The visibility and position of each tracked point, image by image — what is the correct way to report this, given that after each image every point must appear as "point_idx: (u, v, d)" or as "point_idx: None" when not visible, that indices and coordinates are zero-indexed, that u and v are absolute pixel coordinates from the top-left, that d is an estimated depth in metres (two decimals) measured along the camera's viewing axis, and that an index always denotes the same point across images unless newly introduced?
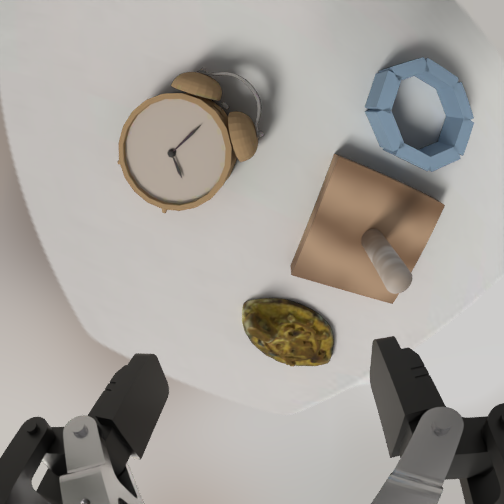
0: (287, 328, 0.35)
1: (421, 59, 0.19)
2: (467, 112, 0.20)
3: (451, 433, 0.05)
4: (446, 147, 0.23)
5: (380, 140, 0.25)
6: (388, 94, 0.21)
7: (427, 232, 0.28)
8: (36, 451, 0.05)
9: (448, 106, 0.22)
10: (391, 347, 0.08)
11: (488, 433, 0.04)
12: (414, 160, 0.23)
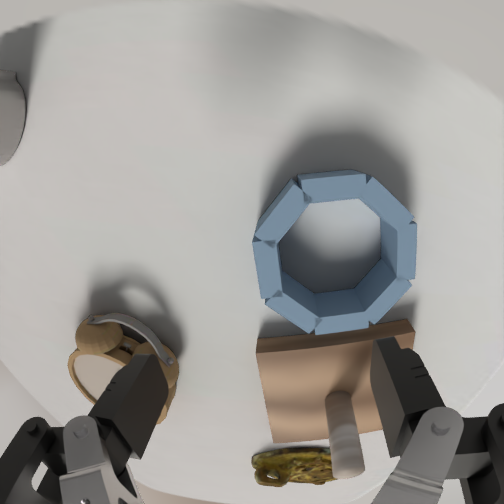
0: (298, 469, 0.29)
1: (292, 190, 0.17)
2: (400, 216, 0.17)
3: (451, 433, 0.05)
4: (387, 280, 0.19)
5: None
6: (268, 274, 0.19)
7: None
8: (36, 451, 0.05)
9: (374, 211, 0.19)
10: (391, 347, 0.08)
11: (488, 433, 0.04)
12: (343, 327, 0.19)
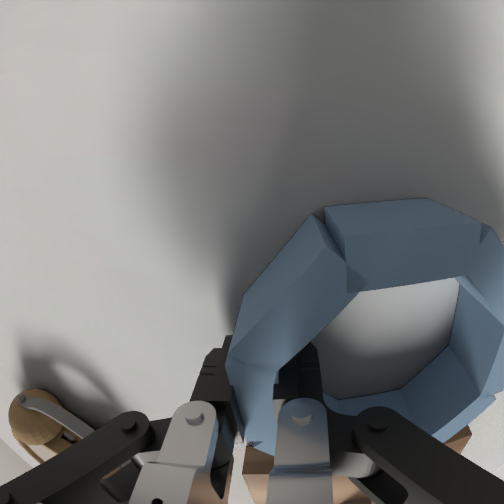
0: None
1: (320, 262, 0.07)
2: None
3: (308, 424, 0.06)
4: (462, 395, 0.08)
5: None
6: (259, 414, 0.08)
7: None
8: (121, 453, 0.06)
9: (461, 280, 0.09)
10: None
11: (361, 443, 0.05)
12: None
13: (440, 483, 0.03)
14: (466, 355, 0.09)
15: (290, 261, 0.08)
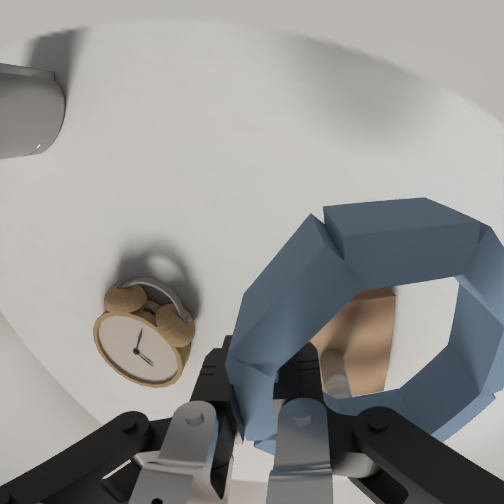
0: None
1: (319, 262, 0.07)
2: None
3: (308, 424, 0.06)
4: (462, 393, 0.09)
5: None
6: (259, 413, 0.08)
7: (387, 327, 0.27)
8: (121, 453, 0.06)
9: (460, 280, 0.09)
10: None
11: (361, 443, 0.05)
12: None
13: (440, 483, 0.03)
14: (466, 354, 0.09)
15: (289, 261, 0.08)
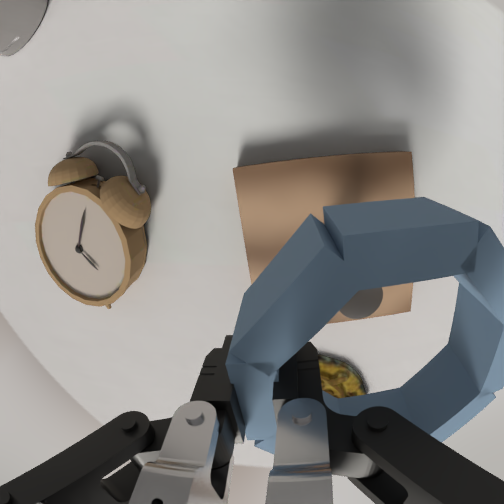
0: None
1: (319, 262, 0.07)
2: None
3: (308, 424, 0.06)
4: (462, 393, 0.09)
5: None
6: (260, 412, 0.08)
7: None
8: (122, 453, 0.06)
9: (460, 279, 0.09)
10: None
11: (360, 443, 0.05)
12: None
13: (440, 483, 0.03)
14: (465, 353, 0.09)
15: (289, 261, 0.08)
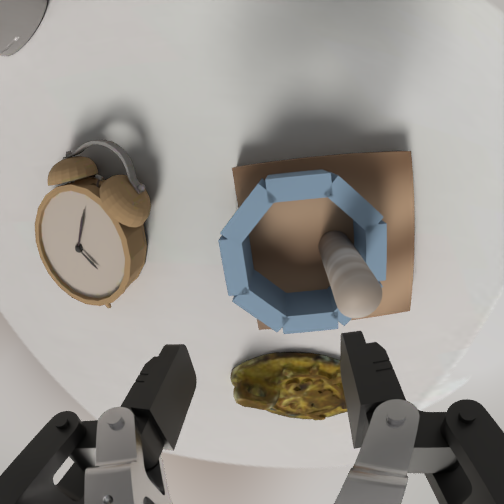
0: (288, 385, 0.26)
1: (256, 190, 0.17)
2: (368, 216, 0.17)
3: (405, 425, 0.05)
4: None
5: None
6: (234, 272, 0.19)
7: (407, 199, 0.20)
8: (63, 447, 0.06)
9: None
10: (356, 341, 0.09)
11: (448, 432, 0.05)
12: (311, 327, 0.20)
13: (502, 486, 0.03)
14: None
15: None
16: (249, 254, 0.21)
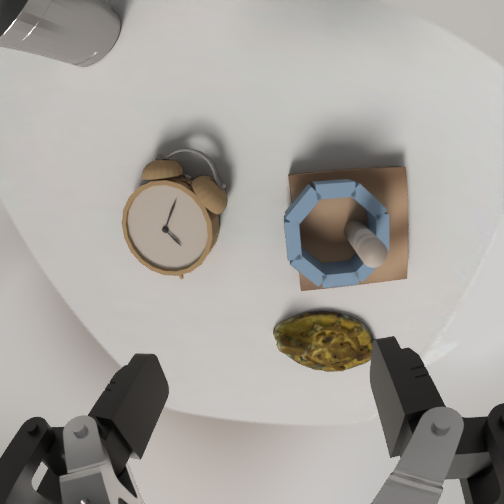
0: (318, 337, 0.36)
1: (309, 191, 0.27)
2: (377, 209, 0.27)
3: (451, 433, 0.05)
4: None
5: None
6: (293, 244, 0.29)
7: (403, 199, 0.29)
8: (36, 450, 0.05)
9: (362, 206, 0.29)
10: (391, 347, 0.08)
11: (488, 433, 0.04)
12: (341, 283, 0.29)
13: None
14: None
15: (302, 194, 0.29)
16: None
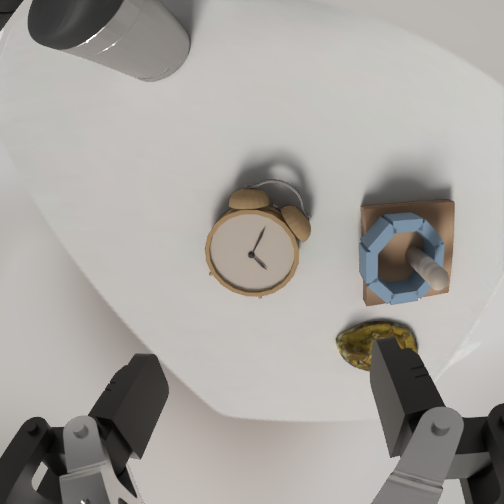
0: None
1: (388, 226, 0.30)
2: (437, 240, 0.30)
3: (451, 433, 0.05)
4: None
5: None
6: (371, 270, 0.32)
7: (450, 228, 0.33)
8: (36, 451, 0.05)
9: (422, 236, 0.32)
10: (391, 347, 0.08)
11: (488, 433, 0.04)
12: (405, 300, 0.33)
13: None
14: None
15: (379, 227, 0.32)
16: None
